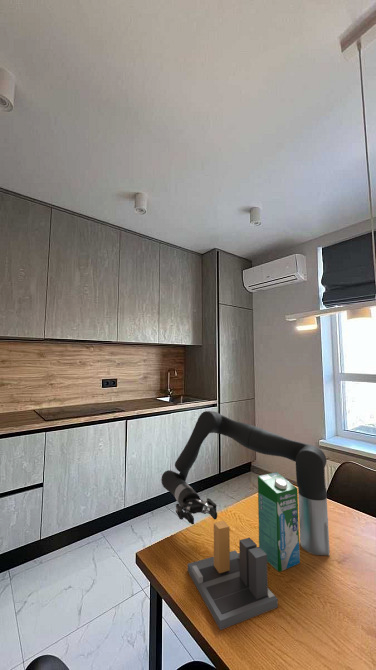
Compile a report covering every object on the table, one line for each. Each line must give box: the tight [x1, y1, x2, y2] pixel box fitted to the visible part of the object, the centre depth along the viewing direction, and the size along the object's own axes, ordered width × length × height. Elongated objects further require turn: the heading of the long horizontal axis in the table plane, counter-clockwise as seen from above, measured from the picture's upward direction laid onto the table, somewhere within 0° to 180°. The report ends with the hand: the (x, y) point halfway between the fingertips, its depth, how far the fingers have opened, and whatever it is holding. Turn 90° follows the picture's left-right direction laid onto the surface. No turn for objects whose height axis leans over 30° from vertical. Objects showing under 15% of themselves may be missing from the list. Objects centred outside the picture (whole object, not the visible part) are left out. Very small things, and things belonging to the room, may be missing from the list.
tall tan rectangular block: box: [213, 520, 231, 573], centre depth 83 cm, size 4×4×12 cm
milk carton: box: [257, 471, 301, 573], centre depth 91 cm, size 9×9×25 cm
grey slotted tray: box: [187, 537, 279, 631], centre depth 79 cm, size 17×20×12 cm
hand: (204, 519), depth 93 cm, fingers open, 8 cm apart
